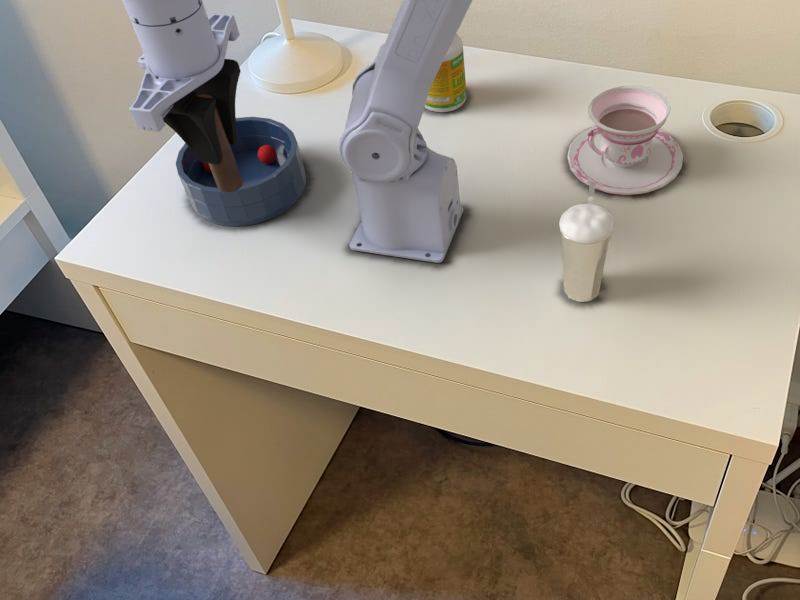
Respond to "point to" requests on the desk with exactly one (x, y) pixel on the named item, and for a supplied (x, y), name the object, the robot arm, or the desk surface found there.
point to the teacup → (626, 143)
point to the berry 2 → (267, 154)
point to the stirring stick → (225, 161)
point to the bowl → (248, 176)
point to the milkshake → (584, 247)
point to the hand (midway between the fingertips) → (218, 150)
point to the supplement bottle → (449, 81)
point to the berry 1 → (207, 168)
